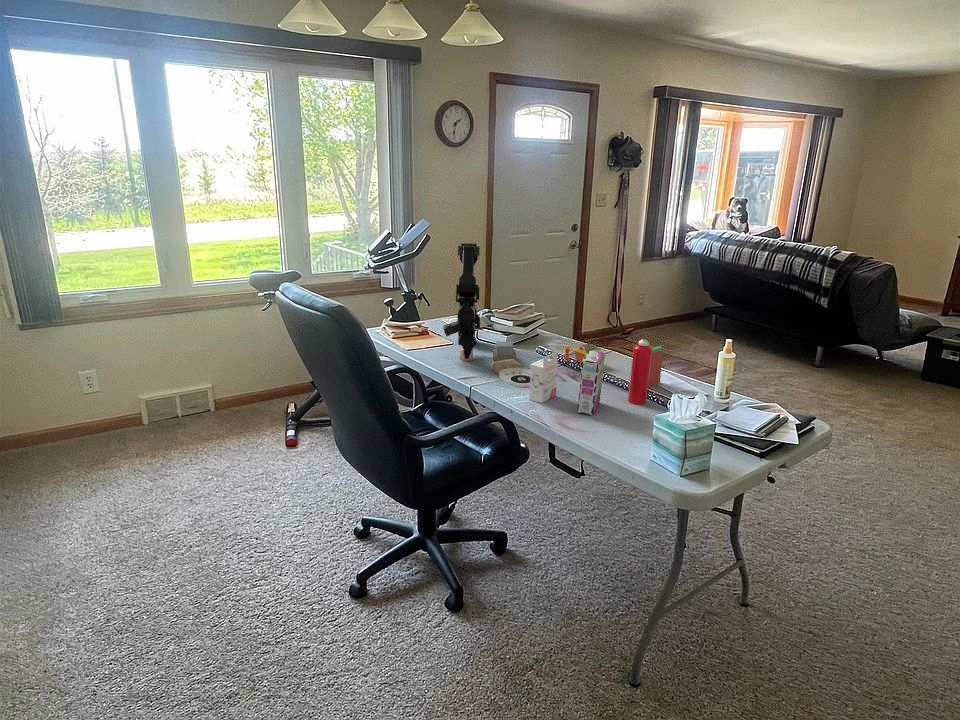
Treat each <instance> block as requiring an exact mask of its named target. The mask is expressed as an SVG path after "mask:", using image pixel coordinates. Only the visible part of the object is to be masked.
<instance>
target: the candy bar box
mask: <svg viewBox="0 0 960 720" xmlns="http://www.w3.org/2000/svg"><path fill="white" fill-rule="evenodd" d="M597 351H598V350H593V351H589V352H588V354H587V355H586V356H585V358H584V359H583V360H582V364H581V371H580V382H579V383H580V384H579V393H578V405H577V413H578V414H582V415H587V416H594V414H595V412H596V410H597V408H598V406H599V404H600V403H601V395H602V394H601V392H602V384H603V374H604V365H605V356H606V352H602V351H598V352H597Z"/></svg>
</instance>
